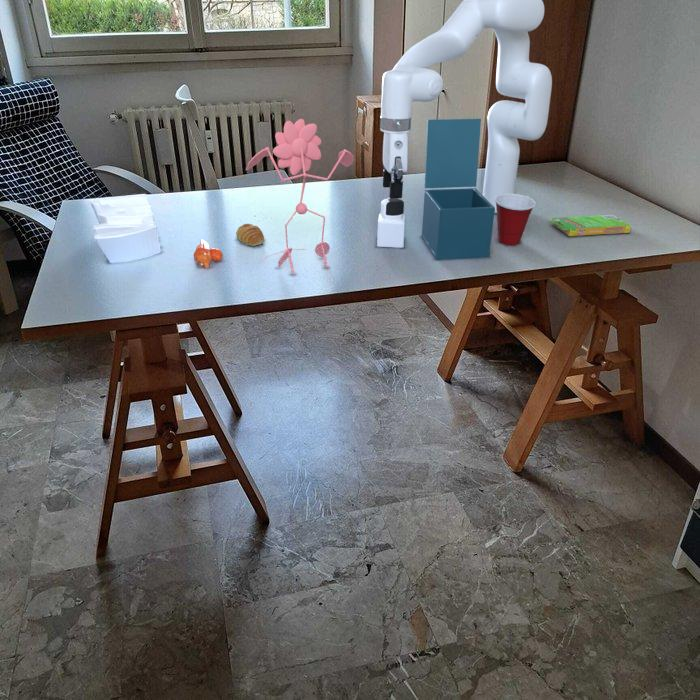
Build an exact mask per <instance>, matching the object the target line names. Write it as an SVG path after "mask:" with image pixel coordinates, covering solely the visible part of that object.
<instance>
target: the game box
mask: <svg viewBox="0 0 700 700" xmlns="http://www.w3.org/2000/svg"><path fill="white" fill-rule="evenodd" d="M549 220H550V222H552V223H553V226H554V227H556V228H557V229H559V230H560V231H561V232H562V233H564V234H565V235H566V236H568V237H577V236H580V237H581V236H597V235H614V234H615V235H616V234H630V231H631V227H632V225H631V224H629V223H628V222H626V221H624V220H623V219H621V218H619V217H617V216H616V215H614V214H603V215H601V214H599V215H585V216H584V215H583V216H566V217H565V216H562V217H551V218H549Z"/></svg>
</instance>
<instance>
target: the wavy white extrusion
mask: <svg viewBox="0 0 700 700" xmlns="http://www.w3.org/2000/svg"><path fill="white" fill-rule="evenodd" d="M89 204H90V205H91V208H92V210H93V212H94V214H95V217H96V220H97V222H98V224H94V225H93V227H92V228H93V230H94V232H95V234H94V235H93V236H94V240H95V241H96V243H97V244H98V246H99V247H100V249H101V250H102V252H103V254H104V256H105V257H106V258H107V261H108V262H109V264H117V263H126V262H127V263H128V262H134V261H139V260H143V259H147V258H150V257H153V256H155V255H158V254H160V253H162V249H161V244H160V237H159V232H158V226H157V225H156V220H155V215H154V212H153V211H152V205H151V204H150V201H149V196H148V195H147V193H139V194H130V195H128V194H127V195H119V196H106V197H101V198H94V199H90V200H89Z"/></svg>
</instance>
